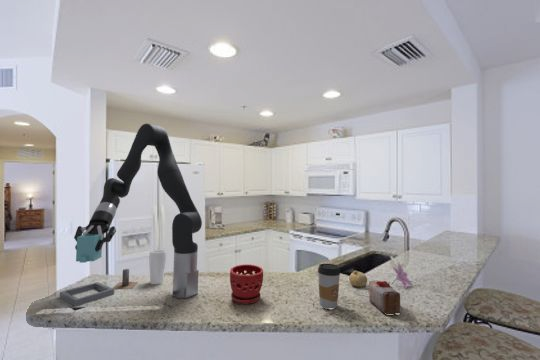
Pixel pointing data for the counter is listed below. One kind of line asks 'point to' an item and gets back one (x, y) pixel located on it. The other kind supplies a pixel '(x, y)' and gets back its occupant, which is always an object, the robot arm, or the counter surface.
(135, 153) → the robot arm
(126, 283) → the square wooden base
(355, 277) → the onion
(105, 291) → the charcoal tray
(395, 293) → the food item
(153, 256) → the drinking glass
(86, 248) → the teal sleeve
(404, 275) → the lily
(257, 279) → the plant pot
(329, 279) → the coffee cup
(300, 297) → the counter surface
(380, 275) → the counter surface
